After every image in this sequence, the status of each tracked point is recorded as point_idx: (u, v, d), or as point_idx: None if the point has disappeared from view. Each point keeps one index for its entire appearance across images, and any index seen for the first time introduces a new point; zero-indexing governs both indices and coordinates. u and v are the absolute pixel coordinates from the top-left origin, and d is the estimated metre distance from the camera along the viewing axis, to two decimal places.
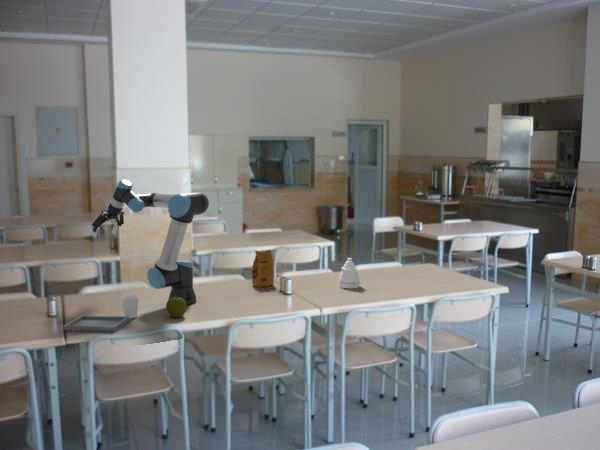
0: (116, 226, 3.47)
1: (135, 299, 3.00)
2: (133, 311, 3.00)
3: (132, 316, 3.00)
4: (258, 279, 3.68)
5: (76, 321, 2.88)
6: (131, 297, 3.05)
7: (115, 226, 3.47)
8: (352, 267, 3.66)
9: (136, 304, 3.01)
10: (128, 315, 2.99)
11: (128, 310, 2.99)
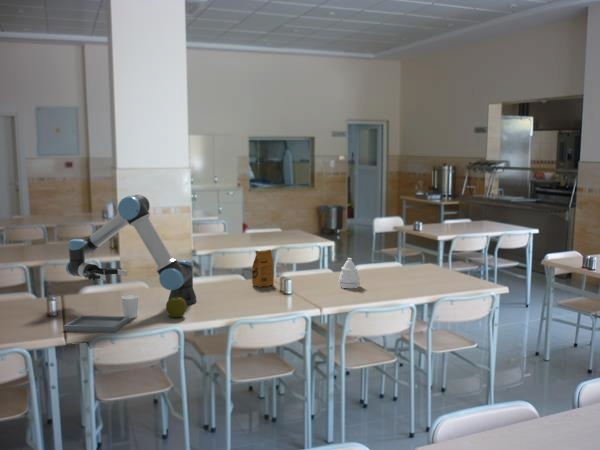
0: (118, 271, 3.14)
1: (135, 299, 3.00)
2: (133, 311, 3.00)
3: (132, 316, 3.00)
4: (258, 279, 3.68)
5: (76, 321, 2.88)
6: (131, 297, 3.05)
7: (119, 272, 3.14)
8: (352, 267, 3.66)
9: (136, 304, 3.01)
10: (128, 315, 2.99)
11: (128, 310, 2.99)
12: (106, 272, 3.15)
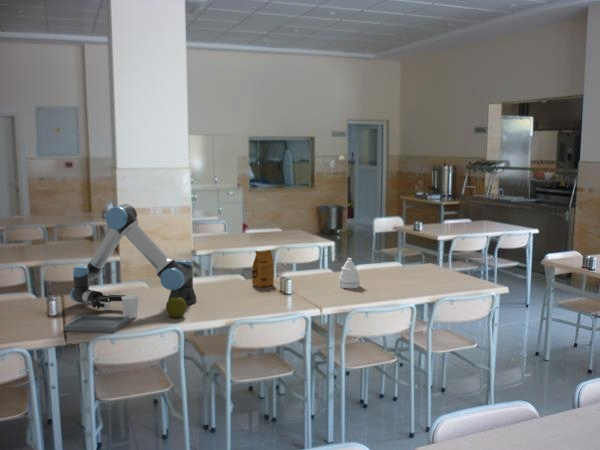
0: None
1: (135, 299, 3.00)
2: (133, 311, 3.00)
3: (132, 316, 3.00)
4: (258, 279, 3.68)
5: (76, 321, 2.88)
6: (131, 297, 3.05)
7: None
8: (352, 267, 3.66)
9: (136, 304, 3.01)
10: (128, 315, 2.99)
11: (128, 310, 2.99)
12: (110, 299, 3.15)
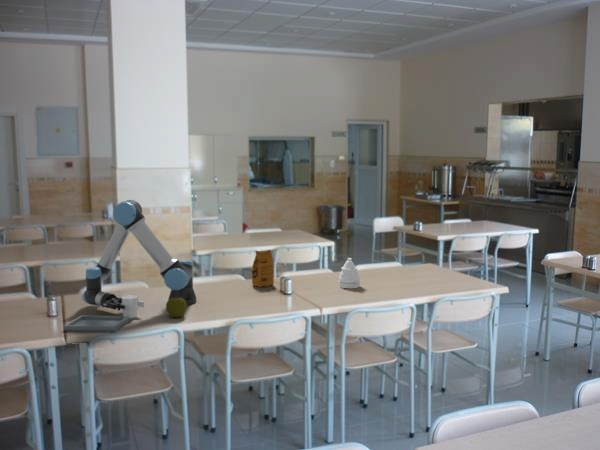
0: None
1: (135, 299, 3.00)
2: (133, 311, 3.00)
3: (132, 316, 3.00)
4: (258, 279, 3.68)
5: (76, 321, 2.88)
6: (131, 297, 3.05)
7: None
8: (352, 267, 3.66)
9: (136, 304, 3.01)
10: (128, 315, 2.99)
11: None
12: None
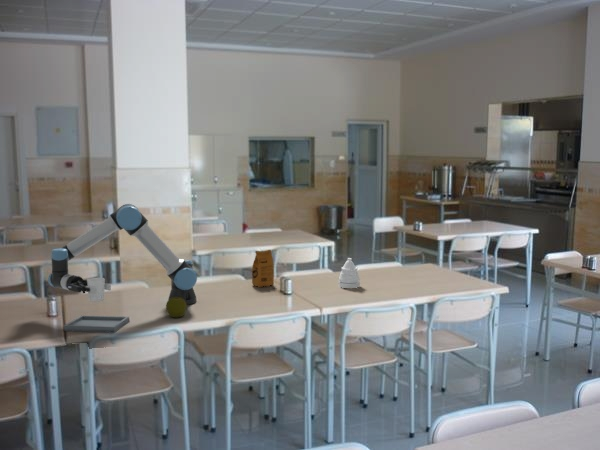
0: None
1: (101, 281, 2.82)
2: (99, 294, 2.82)
3: (98, 299, 2.82)
4: (258, 279, 3.68)
5: (76, 321, 2.88)
6: (98, 280, 2.88)
7: None
8: (352, 267, 3.66)
9: (102, 287, 2.83)
10: (93, 298, 2.82)
11: (93, 293, 2.81)
12: None
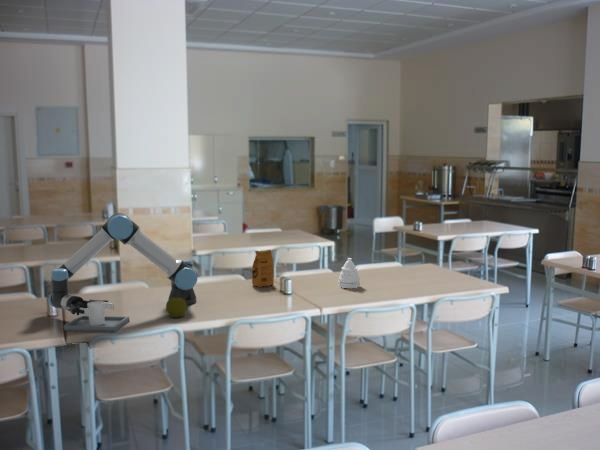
0: None
1: (101, 305, 2.83)
2: (99, 318, 2.83)
3: (99, 323, 2.83)
4: (258, 279, 3.68)
5: (76, 321, 2.88)
6: (98, 303, 2.88)
7: (105, 305, 2.91)
8: (352, 267, 3.66)
9: (103, 310, 2.84)
10: (94, 322, 2.82)
11: (94, 317, 2.82)
12: None
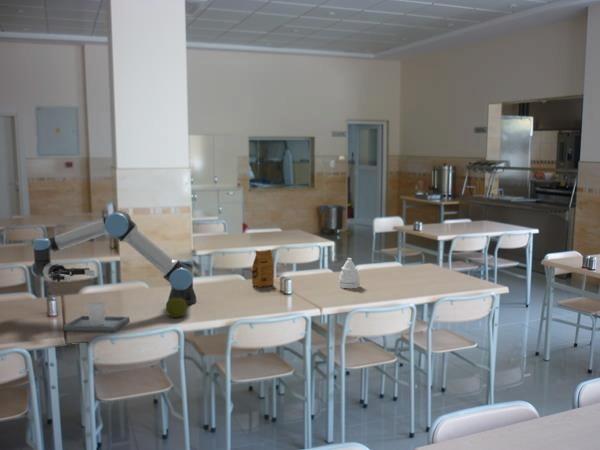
0: (86, 271, 2.97)
1: (102, 305, 2.83)
2: (100, 318, 2.83)
3: (99, 323, 2.83)
4: (258, 279, 3.68)
5: (76, 321, 2.88)
6: (98, 303, 2.88)
7: (86, 273, 2.97)
8: (352, 267, 3.66)
9: (103, 311, 2.84)
10: (94, 322, 2.82)
11: (94, 317, 2.82)
12: (72, 273, 2.98)
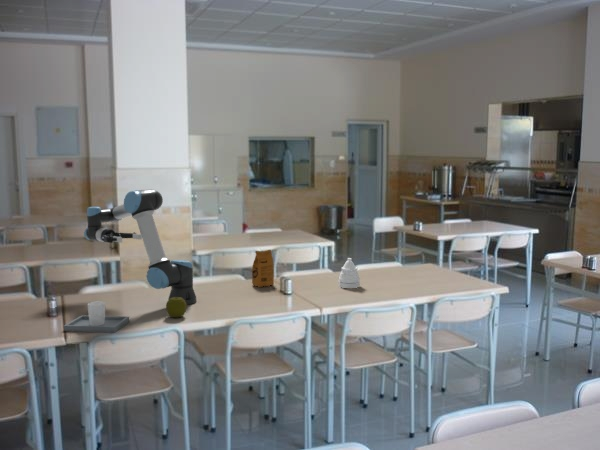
0: (133, 235, 3.38)
1: (102, 306, 2.83)
2: (100, 318, 2.83)
3: (99, 323, 2.83)
4: (258, 279, 3.68)
5: (76, 321, 2.88)
6: (98, 303, 2.88)
7: (134, 236, 3.38)
8: (352, 267, 3.66)
9: (103, 311, 2.84)
10: (94, 322, 2.82)
11: (94, 317, 2.82)
12: (122, 236, 3.39)
